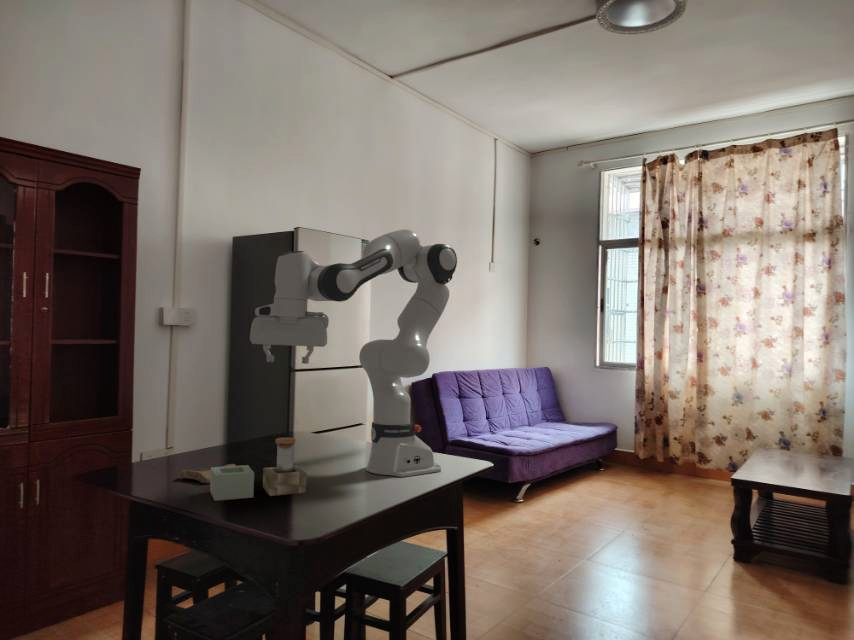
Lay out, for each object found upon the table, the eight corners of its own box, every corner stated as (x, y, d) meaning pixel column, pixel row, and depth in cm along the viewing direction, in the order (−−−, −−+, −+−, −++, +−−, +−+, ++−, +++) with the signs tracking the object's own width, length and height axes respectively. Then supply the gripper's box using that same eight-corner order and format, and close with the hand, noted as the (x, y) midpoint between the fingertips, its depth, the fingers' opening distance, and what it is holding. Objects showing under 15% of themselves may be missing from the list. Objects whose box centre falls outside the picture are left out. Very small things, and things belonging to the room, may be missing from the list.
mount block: (297, 484, 163) (297, 465, 164) (305, 492, 155) (306, 472, 155) (262, 487, 159) (263, 467, 160) (269, 495, 151) (270, 475, 151)
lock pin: (291, 486, 161) (292, 437, 161) (296, 491, 156) (297, 440, 157) (272, 488, 159) (273, 438, 159) (276, 493, 154) (278, 441, 154)
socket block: (246, 488, 158) (247, 465, 158) (253, 497, 150) (254, 472, 150) (210, 491, 154) (210, 467, 154) (214, 500, 146) (215, 475, 146)
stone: (177, 480, 166) (177, 468, 166) (230, 471, 177) (230, 460, 177) (194, 488, 159) (195, 475, 159) (249, 478, 169) (249, 467, 170)
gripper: (331, 313, 166) (328, 364, 166) (256, 310, 167) (254, 360, 167) (326, 311, 160) (323, 364, 159) (249, 308, 161) (246, 361, 160)
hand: (287, 362), depth 163 cm, fingers open, 8 cm apart
